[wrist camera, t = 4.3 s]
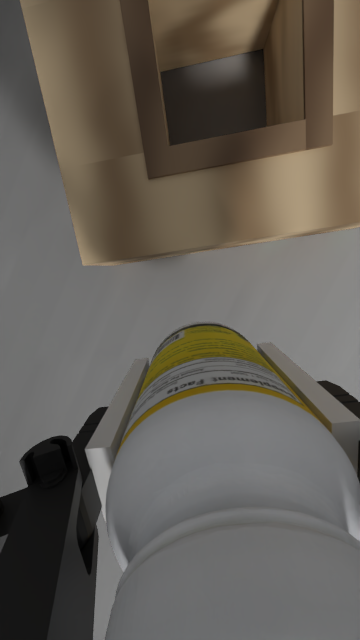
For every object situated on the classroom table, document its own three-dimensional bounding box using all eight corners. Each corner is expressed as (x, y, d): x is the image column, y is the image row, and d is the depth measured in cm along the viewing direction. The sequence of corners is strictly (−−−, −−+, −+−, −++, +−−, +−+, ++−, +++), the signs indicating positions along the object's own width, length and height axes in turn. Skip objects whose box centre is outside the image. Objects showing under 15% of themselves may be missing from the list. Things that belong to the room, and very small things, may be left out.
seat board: (112, 265, 21) (81, 265, 15) (56, -4, 17) (-19, -154, 11) (354, 228, 20) (427, 211, 14) (363, -86, 15) (479, -321, 9)
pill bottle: (242, 422, 14) (433, 939, 3) (145, 405, 14) (5, 879, 3) (269, 329, 13) (757, 681, 2) (161, 309, 12) (7, 562, 2)
